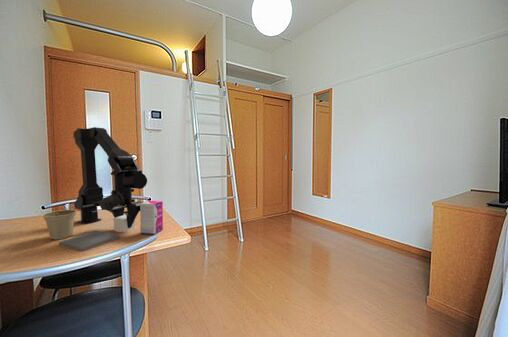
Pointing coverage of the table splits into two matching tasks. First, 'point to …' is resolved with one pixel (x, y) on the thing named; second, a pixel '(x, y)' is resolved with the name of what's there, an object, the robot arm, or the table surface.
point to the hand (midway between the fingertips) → (124, 227)
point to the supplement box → (151, 217)
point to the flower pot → (60, 223)
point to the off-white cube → (122, 224)
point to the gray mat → (88, 240)
